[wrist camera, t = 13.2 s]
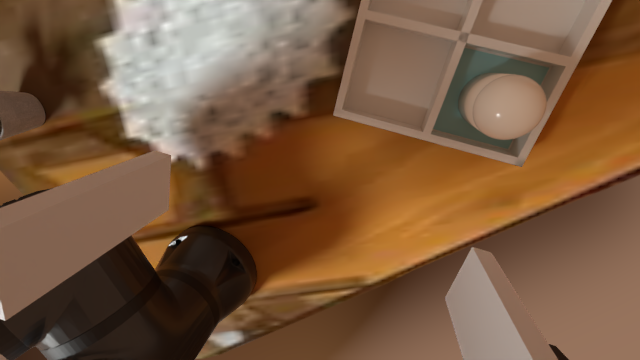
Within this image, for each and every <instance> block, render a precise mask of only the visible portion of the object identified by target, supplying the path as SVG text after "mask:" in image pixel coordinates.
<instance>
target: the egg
mask: <svg viewBox="0 0 640 360" xmlns="http://www.w3.org/2000/svg"><path fill="white" fill-rule="evenodd" d="M458 109H459V112H460V114H461V116H462V117H463V119H464V120H465V121H467V122H468V123H469V124H471V125H472V126H474V127H475V128H476V129H478V130H479V131H480V132H482V133H483V134H485V135H487V136H489V137H491V138H494V139H500V140H509V139H514V138H518V137H521V136H523V135H525V134H527V133H529V132H530V131H532V130H533V129H534V128H535V127H536V126H537V125H538V124H539V122H540V121H541V120H542V118H543V116H544V114H545V110H546V96H545V93H544V91H543V89H542V88H541V86H540V85H539V84H538V83H537V82H536V81H534V80H533V79H531V78H529V77H526V76H523V75H516V74H504V73H484V74H480V75H478V76H476V77H474V78H472V79H471V80H470V81H469V82H467V83H466V85H465V86H464V87H463V89H462V90H461V92H460V95H459V98H458Z"/></svg>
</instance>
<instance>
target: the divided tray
mask: <svg viewBox="0 0 640 360" xmlns="http://www.w3.org/2000/svg"><path fill="white" fill-rule="evenodd" d="M611 2H612V0H361V3H360V7H359V11H358V15H357V19H356V23H355V28H354V32H353V36H352V40H351V44H350V48H349V52H348V56H347V60H346V64H345V68H344V73H343V77H342V81H341V85H340V89H339V93H338V97H337V101H336V105H335V109H334V113H333V116H337V117H341V118H344V119H348V120H352V121H355V122H359V123H363V124H366V125H370V126H374V127H377V128H381V129H385V130H388V131H392V132H396V133H399V134H403V135H407V136H410V137H414V138H418V139H421V140H425V141H429V142H432V143H436V144H440V145H443V146H447V147H451V148H454V149H458V150H462V151H465V152H469V153H473V154H476V155H480V156H484V157H487V158H491V159H495V160H498V161H502V162H506V163H509V164H513V165H517V166H520V167H522V166H523V164H524V162H525V160H526V158H527V156H528V155H529V153H530V151H531V149H532V147H533V145H534V144H535V142H536V140H537V138H538V136H539V134H540V133H541V131H542V129H543V127H544V125H545V123H546V121H547V120H548V118H549V116H550V114H551V112H552V110H553V109H554V107H555V105H556V103H557V101H558V99H559V98H560V96H561V94H562V92H563V90H564V88H565V86H566V85H567V83H568V81H569V79H570V77H571V75H572V74H573V72H574V70H575V68H576V66H577V64H578V63H579V61H580V59H581V57H582V55H583V53H584V51H585V50H586V48H587V46H588V44H589V42H590V40H591V39H592V37H593V35H594V33H595V31H596V29H597V28H598V26H599V24H600V22H601V20H602V18H603V16H604V15H605V13H606V11H607V9H608V7H609V5H610V4H611ZM484 73H504V74H516V75H523V76H526V77H529V78H531V79H533V80H534V81H536V82H537V83H538V84H539V85H540V86H541V88H542V89H543V91H544V93H545V96H546V110H545V114H544V116H543V118H542V120H541V121H540V122H539V124H538V125H537V126H536V127H535V128H534V129H533V130H532V131H530V132H529V133H527V134H525V135H523V136H521V137H518V138H514V139H509V140H500V139H494V138H491V137H489V136H487V135H485V134H483V133H482V132H480V131H479V130H478V129H476V128H475V127H474V126H472V125H471V124H469V123H468V122H467V121H465V120H464V119H463V117H462V116H461V114H460V112H459V109H458V98H459V95H460V92H461V90H462V89H463V87H464V86H465V85H466V83H467V82H469V81H470V80H471V79H472V78H474V77H476V76H478V75H480V74H484Z"/></svg>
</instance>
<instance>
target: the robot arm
mask: <svg viewBox="0 0 640 360" xmlns="http://www.w3.org/2000/svg"><path fill="white" fill-rule="evenodd" d="M170 167H171V155H168V154H165V153H161V152H158V151H152V152H150V153H147V154H144V155H142V156H139V157H136V158H134V159H131V160H128V161H125V162H123V163H120V164H117V165H115V166H112V167H109V168H107V169H104V170H101V171H99V172H96V173H93V174H90V175H88V176H85V177H82V178H80V179H77V180H74V181H72V182H69V183H66V184H64V185H61V186H58V187H56V188H52V189H47V190H41V191H37V192H34V193H31V194H28V195H26V196H23V197H20V198H19V199H18V200H12V201H9V202H6V203H4V204H3V205H2V206H0V360H14V359H16V358H17V357H19V356H20V355H22V354H23V353H24V352H26V351H27V350H29V349H30V348H32V347H34V346H36V347H37V348H38V349H39V350H40V351H41V352H42V354H43V355H44V356H45V357H46V358H47V359H48V360H195V358H196V357H197V355H198V354H199V352H200V351H201V349H202V348H203V346H204V345H205V343H206V341H207V340H208V338H209V337H210V335H211V334H212V332H213V330H214V329H215V327H216V326H217V324H218V323H219V322H220V321H222V320H223V319H224V318H225V317H227V316H228V315H229V314H231V313H232V312H233V311H234V310H236V309H237V308H238V307H239V306H241V305H242V304H243V303H244V302H245V301H246V300H247V298H248V297H249V295H250V293H251V292H252V290H253V288H254V286H255V283H256V276H257V275H256V267H255V264H254V261H253V259H252V257H251V255H250V253H249V252H248V250H247V249H246V248H245V247H244V246H243V244H242V243H241V242H239V241H238V240H237V239H236V238H235V237H233V236H232V235H230V234H229V233H227V232H225V231H223V230H220V229H217V228H214V227H209V226H196V227H192V228H189V229H187V230H185V231H183V232H182V233H181V234H179V235H178V236H177V237H176V238H175V239H174V240H173V241H172V242H171V243H170V244H169V245H168V247H167V249H166V251H165V252H164V254H163V256H162V258H161V260H160V261H159V263H158V265H157V267H156V269H155V270H154V268H153V267H152V265H151V264H150V262H149V261H148V260H147V258H146V257H145V255H144V254H143V252H142V251H141V249H140V248H139V246H138V245H137V243H136V242H135V240H134V238H133V237H132V234H134V233H135V232H137V231H138V230H140V229H141V228H143V227H144V226H146V225H147V224H148V223H150V222H151V221H153V220H154V219H156V218H157V217H159V216H160V215H162V214H163V213H165V212H166V211H168V208H169V187H170ZM445 300H446V303H447V306H448V310H449V313H450V316H451V319H452V323H453V326H454V330H455V333H456V336H457V340H458V343H459V347H460V350H461V353H462V357H463V360H568V358H567V357H566V356H565V355H563V353H562V352H561V351H560V350H559V349H558V348H557V347H556V346H553V345H550V344H548V343H547V341H546V339H545V338H544V336H543V335H542V333H541V332H540V330H539V328H538V327H537V325H536V324H535V322H534V320H533V319H532V317H531V315H530V314H529V312H528V311H527V309H526V307H525V306H524V304H523V303H522V301H521V299H520V298H519V296H518V294H517V293H516V292H515V290H514V288H513V286H512V285H511V284H510V282H509V280H508V279H507V277H506V275H505V274H504V272H503V270H502V269H501V267H500V266H499V264H498V262H497V261H496V259H495V258H494V256H493V254H492V253H491V252H487V251H484V250H481V249H477V248H474V247H472V249H471V251H470V252H469V254H468V256H467V258H466V260H465V262H464V264H463V265H462V267H461V269H460V271H459V273H458V275H457V277H456V278H455V280H454V282H453V284H452V286H451V288H450V290H449V292H448V293H447V295H446V297H445Z"/></svg>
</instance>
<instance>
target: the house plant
mask: <svg viewBox="0 0 640 360" xmlns="http://www.w3.org/2000/svg"><path fill="white" fill-rule="evenodd" d="M44 122H45V111H44V108H43V106H42V105H41V103H40V102H39V100H38V99H37V98H36V97H34V96H33V95H31V94H29V93H25V92H9V91H0V140H2V139H5V138H8V137H11V136H14V135H16V134H19V133H22V132H25V131H28V130H31V129H33V128H36V127H39V126H41V125H43V123H44Z"/></svg>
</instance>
